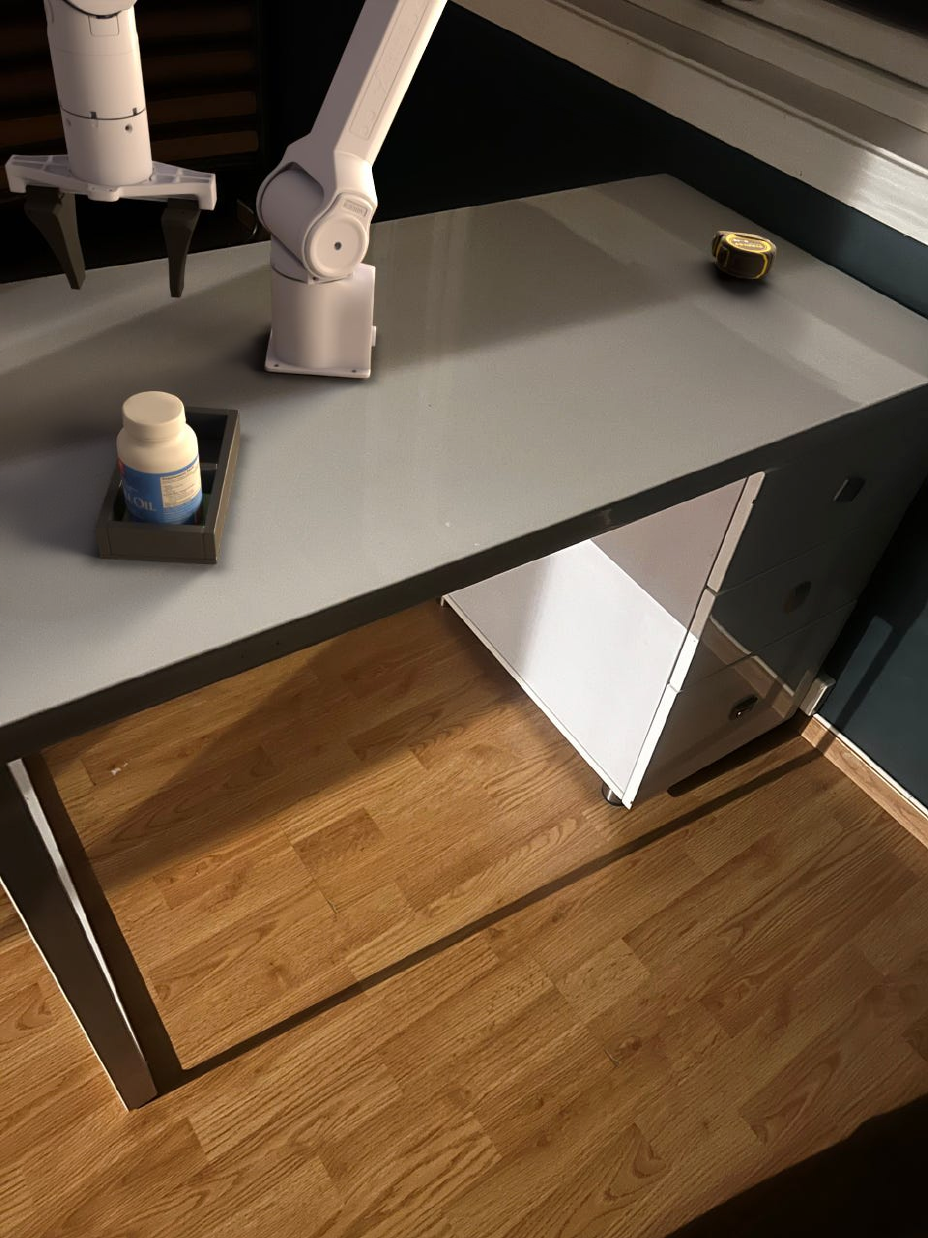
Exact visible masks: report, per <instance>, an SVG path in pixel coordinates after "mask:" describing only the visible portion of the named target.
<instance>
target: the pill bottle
mask: <svg viewBox="0 0 928 1238" xmlns="http://www.w3.org/2000/svg"><path fill="white" fill-rule="evenodd" d="M183 406H184V404H183V402H182V400H180V399H179V397H177V396H176V395H174V394H171V393H168V392H165V391H159V390H157V391H155V390H151V391H149V390H148V391H142V392H139V393H136V394H133V395H132V396H130V397H128V398H127V399H126V400H124V402H123V403H122V406H121V414H122V425H123V427H122V428H121V429H120V431H119V433H118V435H117V437H116V453H117V459H118V460H119V466H120V472H121V478H122V485H123V491H124V497H125V503H126V510H127V516H128V519H129V522H139V523H157V524H176V525H194V526H199V524H200V523H201V521H202V518H203V499H202V488H201V477H200V466H199V455H198V445H197V438H196V435H195V433H194V431H193V430H192V429H191V428H190V427H189V426H188V425H187V424H186V423H185V414H184V407H183Z"/></svg>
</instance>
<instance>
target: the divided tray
mask: <svg viewBox="0 0 928 1238" xmlns="http://www.w3.org/2000/svg"><path fill="white" fill-rule="evenodd" d="M183 407H184V414H185V423H186V424H187V425H188V426H189V427H190V428H191V429H192V430H193V431H194V433H195V435H196V438H197V445H198V455H199V466H200V477H201V488H202V499H203V518H202V521H201V523H200V524H199V526H194V525H176V524H157V523H139V522H129V519H128V516H127V510H126V503H125V497H124V491H123V485H122V478H121V472H120V466H119V460H118V458H117V459H116V462H115V465H114V468H113V471H112V475H111V477H110V480H109V483H108V486H107V489H106V492H105V495H104V498H103V501H102V504H101V507H100V510H99V513H98V516H97V518H96V522H95V525H94V531H95V536H96V541H97V546H98V551H99V556H100V559H108V560H109V559H110V560H128V561H145V562H146V561H148V562H168V563H188V564H189V563H190V564H208V565H211V564H212V565H217V564H218V560H219V555H220V550H221V545H222V539H223V535H224V529H225V525H226V520H227V519H226V518H227V513H228V510H229V509H228V508H229V504H230V498H231V493H232V488H233V483H234V477H235V472H236V466H237V463H238V462H237V461H238V456H239V451H240V445H241V441H242V436H241V419H240V418H241V417H240V409H233V408H221V407H220V408H217V407H204V406H190V405H189V406H188V405H187V406H186V405H183Z"/></svg>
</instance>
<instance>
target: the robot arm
mask: <svg viewBox="0 0 928 1238" xmlns="http://www.w3.org/2000/svg"><path fill="white" fill-rule="evenodd" d="M137 1H138V0H43V5H44V11H45V16H46V23H47V27H46V30H47V32H46V33H47V39H48V44H49V45H48V46H49V51H50V57H51V62H52V63H51V64H52V69H53V74H54V80H55V87H56V92H57V99H58V105H59V109H60V115H61V116H60V117H61V120H62V127H63V128H62V129H63V133H64V139H65V144H66V150H67V154H54V155H53V154H50V155H20V154H12V155H11V156H10V157H9V159H8V160H7V161H6V163H5V165H4V168H5V172H6V177H7V182H8V186H9V191H10V192H12V193H19V194H20V193H21V194H24V193H26V195H25V198H26V201H25V203H24V204H23V210H24V212H25V214H26V217H27V218H28V220H30V222H31V223H32V224H33V225H34V226H35V228H36V229H37V230H38V231H39V232H40V233H41V235H42V236H43V237H44V239H45V240H46V242H47V243H48V245H49V246H50V248H51V249H52V251H53V253H54V254H55V256H56V258H57V260H58V262H59V264H60V266H61V267H62V270H63V272H64V274H65V276H66V279H67V281H68V283H69V287H70V289H71V290H78V291H80V290H81V289H82V286H83V284H84V282H85V281H86V277H87V276H86V266H85V265H86V264H85V260H84V255H83V252H82V247H81V243H80V242H81V241H80V237H79V230H78V222H77V221H78V220H77V212H76V198H75V196H76V195H85V196H87V198H88V199H89V200H92V201H97V202H99V201H100V202H116V201H118V200H119V199H128V200H140V201H141V200H142V201H151V202H152V201H153V202H162V203H167V204H166V206H165V207H164V209H163V212H162V214H161V217H160V226H161V228H162V233H163V237H164V242H165V247H166V254H167V260H168V261H167V262H168V282H169V291H170V297H171V298H176V299H180V298H182V294H183V291H184V288H185V274H186V273H185V271H186V264H187V257H188V252H189V247H190V243H191V239H192V236H193V234H194V231H195V229H196V226H197V223H198V221H199V217H200V216H201V215H200V214H201V212H202V210H208V211H214V209H215V206H216V203H217V199H218V198H217V183H216V174H215V173H209V172H201V171H196V170H192V169H187V168H184V167H180V166H176V165H171V164H166V163H164V162H159V161H155V160H153V159H152V152H151V151H152V150H151V142H150V132H149V124H148V123H149V122H148V114H147V106H146V97H145V88H144V79H143V78H144V77H143V71H142V59H141V52H140V44H139V36H138V32H137V26H136V18H135V8H134V7H135V6H134V5H135V4H136V2H137ZM447 1H448V0H365V2H364V4H363V7H362V9H361V11H360V13H359V16H358V18H357V20H356V23H355V25H354V28H353V30H352V33H351V35H350V38H349V40H348V43H347V45H346V47H345V49H344V52H343V54H342V57H341V59H340V62H339V64H338V66H337V69H336V70H335V74H334V76H333V78H332V82H331V83H330V86H329V88H328V90H327V93H326V95H325V98H324V100H323V102H322V104H321V107H320V110H319V112H318V114H317V117H316V119H315V121H314V124H313V127H312V128H311V131H310V133H308V134H307V135H305V136H303V137H301V138H299V139H297V140H295V141H293V142H292V143H290V144H289V145H288V146H287V147H286V150H285V153H284V154H283V156H282V160H281V161H280V162H279V164H278V165H277V166H276V167H275V168H274V169H273V170H272V171H271V172H270V173H269V174H268V175H267V176H266V177H265V179H264V180H263V181H262V183H261V184H260V186H259V189H258V191H257V195H256V202H255V205H256V206H255V207H256V214H257V217H258V220H259V222H260V224H261V225H262V227H264V229H265V230H266V231H267V232H268V233H270V250H269V266H270V267H269V268H270V271H269V272H270V304H271V306H270V307H271V328H270V333H269V339H268V345H267V350H266V355H265V361H264V370H265V371H267V372H271V373H272V372H273V373H285V374H299V375H311V376H312V375H313V376H314V375H315V376H327V377H339V378H351V379H352V378H353V379H368V378H370V376H371V362H372V361H371V360H372V347H376V334H377V333H376V332H377V326H376V325H373V321H374V304H375V303H374V301H375V281H376V280H375V279H376V267H375V266H373V265H370V264H367V263H362V262H363V260H364V259H365V256H366V255H367V251H368V249H369V242H370V226H371V221H372V219H373V216H374V215H375V213H376V209H377V207H378V198H377V194H376V189H375V183H374V178H373V172H372V167H373V165H374V162H375V161H376V158H377V156H378V154H379V152H380V150H381V147H382V145H383V143H384V141H385V139H386V136H387V134H388V132H389V130H390V127H391V125H392V123H393V121H394V119H395V117H396V115H397V112H398V109H399V107H400V105H401V103H402V102H403V99H404V97H405V94H406V92H407V90H408V88H409V85H410V83H411V81H412V79H413V76H414V74H415V72H416V69H417V68H418V65H419V63H420V61H421V59H422V56H423V54H424V52H425V50H426V47H427V46H428V43H429V41H430V39H431V37H432V35H433V32H434V30H435V27H436V25H437V23H438V21H439V19H440V17H441V15H442V12H443V10H444V8H445V5H446V3H447Z"/></svg>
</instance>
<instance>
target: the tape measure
mask: <svg viewBox="0 0 928 1238" xmlns="http://www.w3.org/2000/svg"><path fill="white" fill-rule="evenodd" d="M710 246H711V247H710V248H711V255H712V257H713V258H715V259H714V261H715V265H716V266H717V267H718V268H719V269H720V270H721V271H722V272H724V273H726V274H728V275H731V276H734V277H736V278H738V279H739V278H740V279H748V280H753V279H754V280H757V279H762V278H765V277H767V276H768V275H769V274H770V273H771V271H772V269H773V266H774V264H775V261H776V257H777V254H778V253H777V252H778V249H777V247H776V245H775V244H774V243H773V242H772V241H771V240H770V239H768V238H767V237H763V236H760V235H756V234H750V233H743V232H733V231H725V230H718V231H717V232H716V233H715V234H714V235H713V236H712V240H711V242H710Z"/></svg>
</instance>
